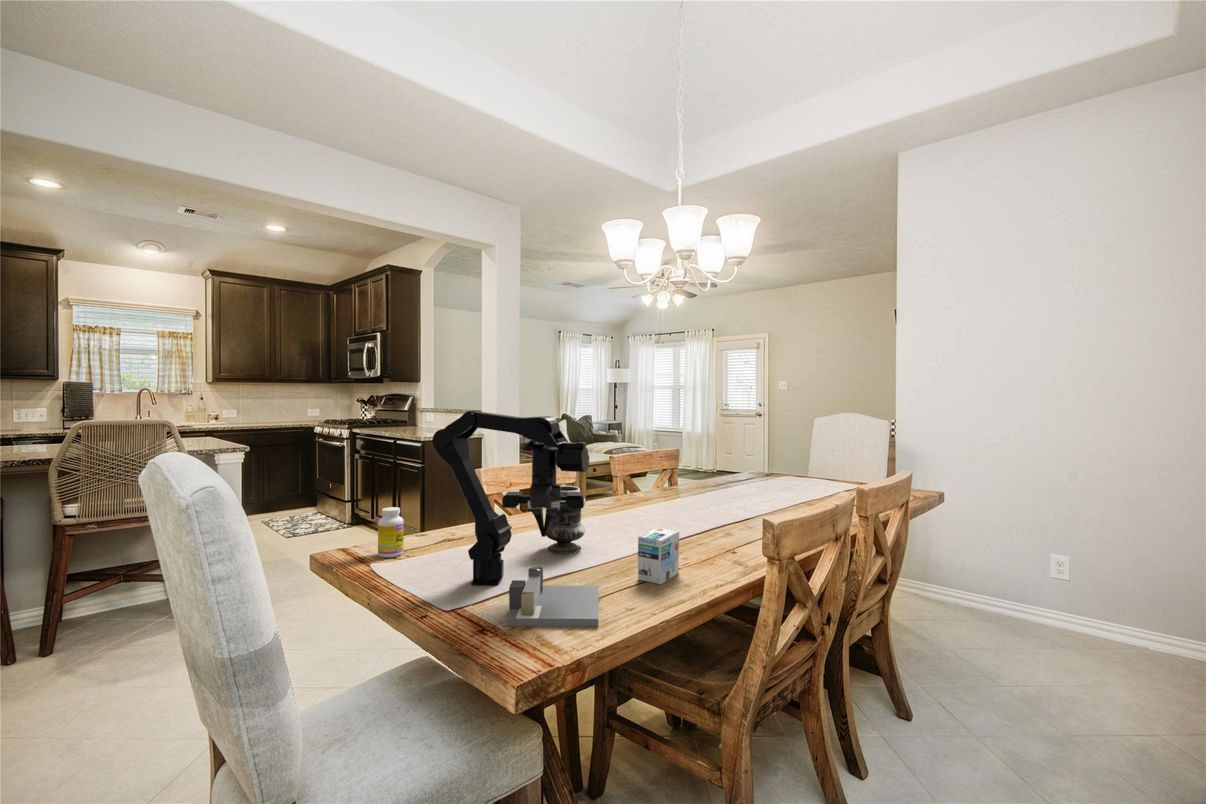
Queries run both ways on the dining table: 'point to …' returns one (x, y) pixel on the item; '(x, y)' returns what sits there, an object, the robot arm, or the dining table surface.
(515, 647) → the dining table surface
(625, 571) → the dining table surface
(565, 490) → the apothecary jar
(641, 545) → the light bulb box
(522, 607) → the bar
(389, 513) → the supplement bottle
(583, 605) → the plate
